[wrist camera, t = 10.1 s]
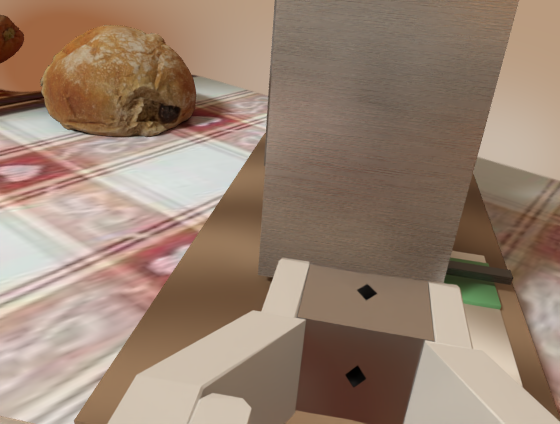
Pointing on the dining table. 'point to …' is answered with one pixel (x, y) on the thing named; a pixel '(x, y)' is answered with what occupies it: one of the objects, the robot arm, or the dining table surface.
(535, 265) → the dining table surface
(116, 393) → the base
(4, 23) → the fruit slice
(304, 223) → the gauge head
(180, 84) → the bread roll
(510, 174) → the dining table surface
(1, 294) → the dining table surface
